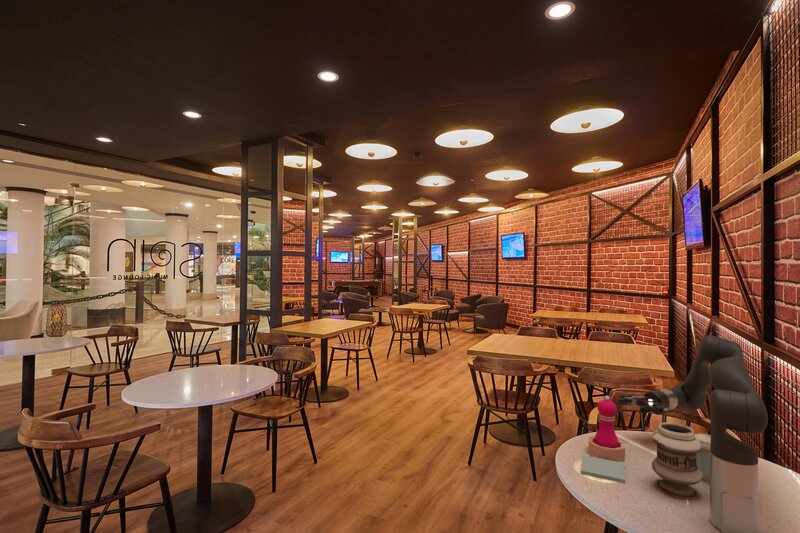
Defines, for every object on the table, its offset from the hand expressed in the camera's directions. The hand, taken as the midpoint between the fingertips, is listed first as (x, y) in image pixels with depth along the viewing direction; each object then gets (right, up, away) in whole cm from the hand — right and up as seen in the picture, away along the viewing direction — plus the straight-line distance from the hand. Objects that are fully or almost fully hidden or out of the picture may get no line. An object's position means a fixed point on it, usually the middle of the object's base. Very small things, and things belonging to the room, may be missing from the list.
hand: (629, 406), depth 146 cm
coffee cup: (+13, -15, -20) cm, 28 cm away
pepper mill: (-11, -15, -5) cm, 19 cm away
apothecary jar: (-2, -15, -27) cm, 31 cm away
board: (-17, -15, -16) cm, 28 cm away
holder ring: (-11, -15, -5) cm, 19 cm away
